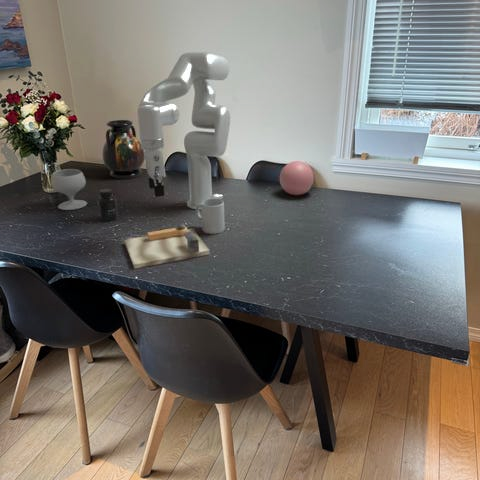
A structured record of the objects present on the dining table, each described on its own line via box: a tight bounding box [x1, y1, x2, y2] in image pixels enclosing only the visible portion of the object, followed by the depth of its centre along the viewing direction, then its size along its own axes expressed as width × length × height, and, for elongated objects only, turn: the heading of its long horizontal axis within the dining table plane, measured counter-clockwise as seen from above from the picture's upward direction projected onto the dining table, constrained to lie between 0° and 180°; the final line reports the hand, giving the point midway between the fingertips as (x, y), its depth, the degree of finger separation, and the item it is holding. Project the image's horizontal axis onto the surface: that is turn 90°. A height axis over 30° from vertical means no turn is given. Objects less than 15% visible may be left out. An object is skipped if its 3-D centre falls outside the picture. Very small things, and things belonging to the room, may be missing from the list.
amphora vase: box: [102, 119, 146, 180], centre depth 223 cm, size 22×22×28 cm
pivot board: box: [123, 223, 211, 269], centre depth 146 cm, size 25×20×6 cm
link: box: [147, 226, 188, 240], centre depth 152 cm, size 14×4×2 cm, turn 112°
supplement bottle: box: [97, 188, 119, 222], centre depth 170 cm, size 7×7×12 cm
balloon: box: [279, 160, 315, 196], centre depth 196 cm, size 15×20×15 cm
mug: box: [195, 199, 226, 235], centre depth 160 cm, size 12×8×11 cm
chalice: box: [50, 168, 88, 211], centre depth 184 cm, size 14×14×15 cm
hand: (156, 192), depth 151 cm, fingers open, 9 cm apart
